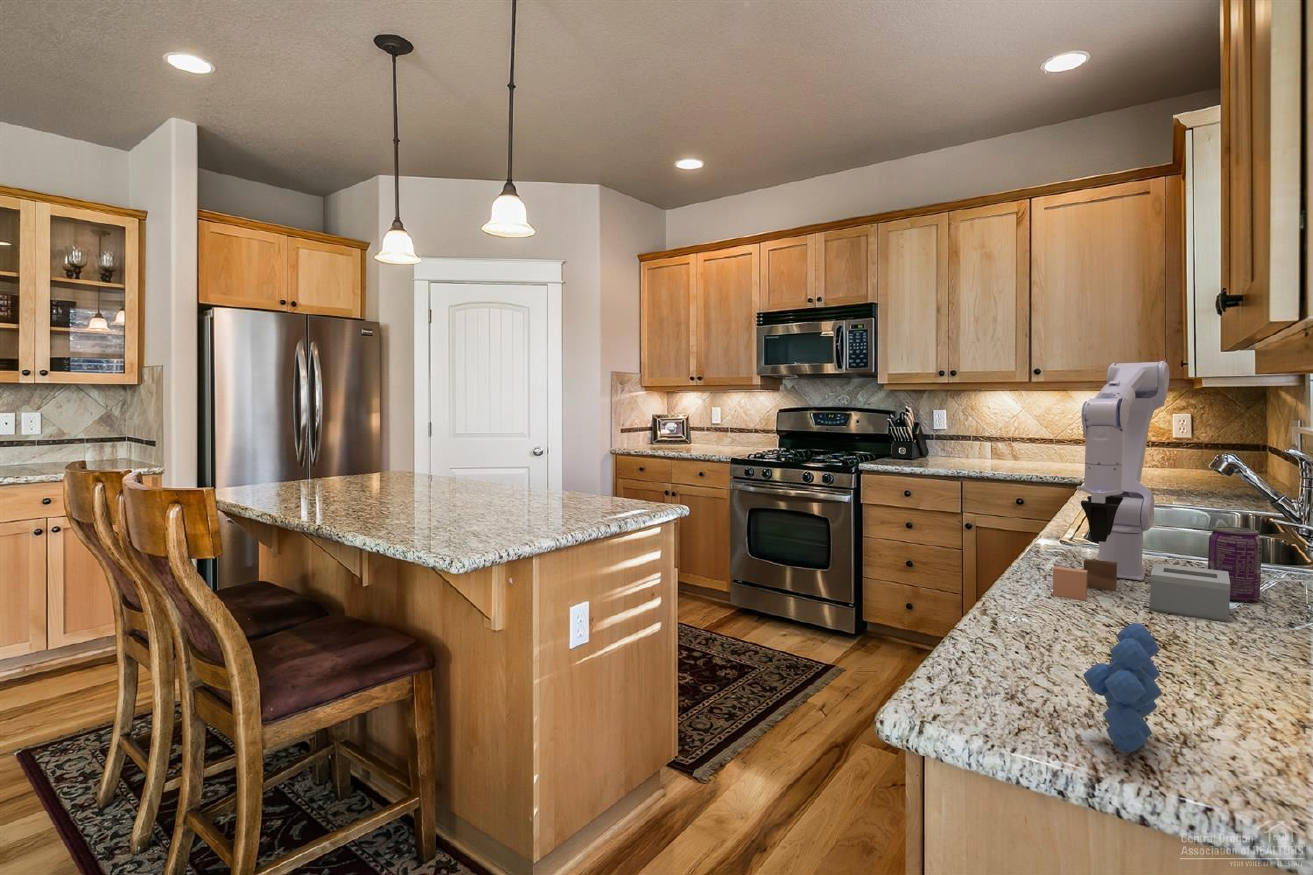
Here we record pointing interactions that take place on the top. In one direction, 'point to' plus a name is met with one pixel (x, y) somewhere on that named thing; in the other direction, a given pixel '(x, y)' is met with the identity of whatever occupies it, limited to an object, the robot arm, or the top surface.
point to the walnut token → (1101, 574)
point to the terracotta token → (1070, 583)
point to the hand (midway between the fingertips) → (1101, 537)
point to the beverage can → (1237, 559)
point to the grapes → (1128, 687)
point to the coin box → (1190, 592)
